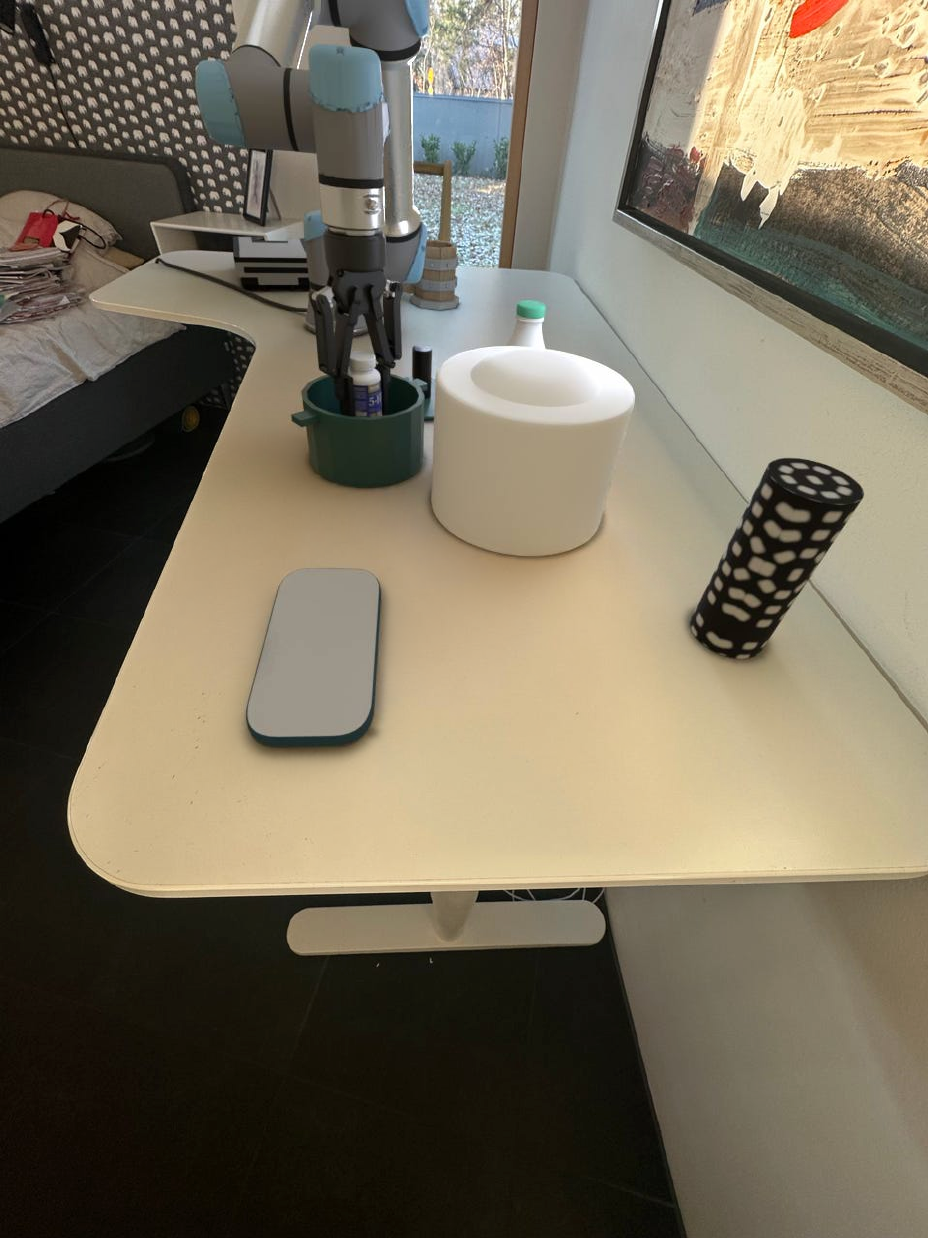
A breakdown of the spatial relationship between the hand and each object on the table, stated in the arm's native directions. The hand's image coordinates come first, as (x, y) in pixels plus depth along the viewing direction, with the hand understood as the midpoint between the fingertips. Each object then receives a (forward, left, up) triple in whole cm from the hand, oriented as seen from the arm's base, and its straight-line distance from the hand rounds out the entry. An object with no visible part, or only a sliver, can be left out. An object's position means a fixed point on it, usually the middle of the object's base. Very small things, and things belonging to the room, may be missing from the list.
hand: (364, 414), depth 82 cm
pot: (0, 0, -7) cm, 7 cm away
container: (+24, +9, -7) cm, 27 cm away
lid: (-12, +22, -7) cm, 26 cm away
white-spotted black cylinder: (+58, +8, -7) cm, 59 cm away
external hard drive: (+31, -29, -7) cm, 43 cm away
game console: (-103, +45, -7) cm, 113 cm away
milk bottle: (+6, +29, -7) cm, 30 cm away
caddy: (-85, +77, -7) cm, 116 cm away
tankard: (-63, +67, -7) cm, 92 cm away
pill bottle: (0, 0, 0) cm, 1 cm away
